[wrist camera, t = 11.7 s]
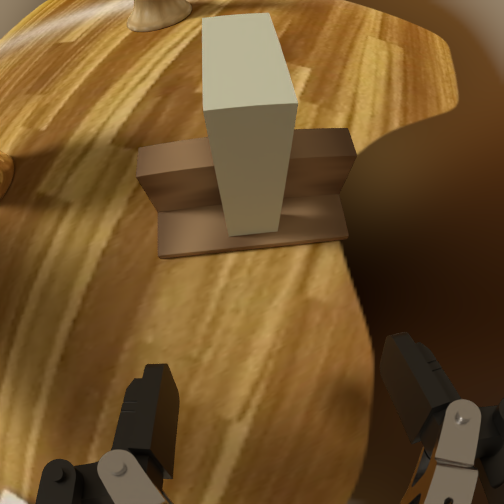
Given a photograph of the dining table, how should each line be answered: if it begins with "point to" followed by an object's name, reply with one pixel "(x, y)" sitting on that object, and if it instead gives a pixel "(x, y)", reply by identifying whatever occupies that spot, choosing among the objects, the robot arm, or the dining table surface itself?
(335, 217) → the walnut rail
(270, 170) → the pale slotted block
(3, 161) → the beer glass
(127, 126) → the dining table surface
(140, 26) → the hand bell
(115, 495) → the robot arm
